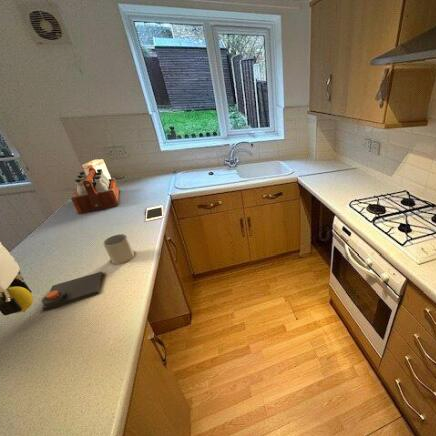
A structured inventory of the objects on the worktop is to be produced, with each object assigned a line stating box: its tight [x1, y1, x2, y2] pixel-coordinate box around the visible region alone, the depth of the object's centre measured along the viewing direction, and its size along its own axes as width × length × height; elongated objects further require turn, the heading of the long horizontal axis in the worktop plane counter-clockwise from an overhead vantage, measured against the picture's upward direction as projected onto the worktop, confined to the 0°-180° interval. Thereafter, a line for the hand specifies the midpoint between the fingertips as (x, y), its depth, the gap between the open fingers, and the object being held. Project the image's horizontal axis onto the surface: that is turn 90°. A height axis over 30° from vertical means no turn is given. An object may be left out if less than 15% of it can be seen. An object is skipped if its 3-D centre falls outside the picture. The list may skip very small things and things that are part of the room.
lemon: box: [0, 287, 34, 314], centre depth 61 cm, size 6×6×8 cm
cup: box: [102, 233, 135, 265], centre depth 101 cm, size 8×8×10 cm
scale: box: [40, 271, 104, 312], centre depth 86 cm, size 15×12×4 cm
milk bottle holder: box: [70, 168, 120, 214], centre depth 155 cm, size 21×35×19 cm, turn 32°
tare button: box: [45, 290, 60, 300], centre depth 81 cm, size 3×3×2 cm
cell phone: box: [145, 205, 164, 222], centre depth 141 cm, size 9×18×1 cm, turn 26°
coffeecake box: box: [81, 158, 112, 182], centre depth 182 cm, size 15×7×20 cm, turn 6°
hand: (18, 303), depth 61 cm, fingers closed on lemon, 5 cm apart
